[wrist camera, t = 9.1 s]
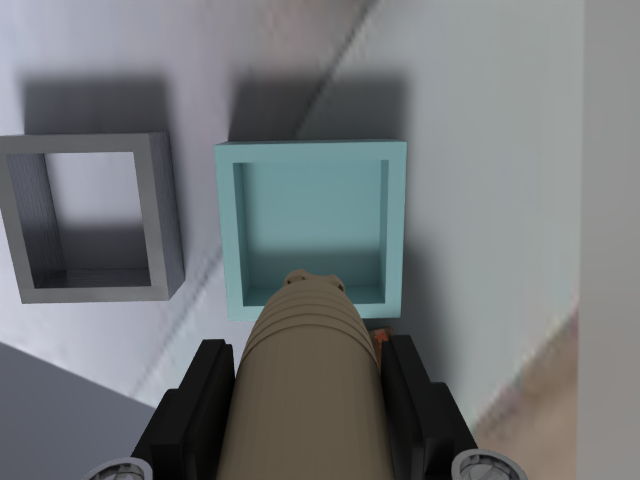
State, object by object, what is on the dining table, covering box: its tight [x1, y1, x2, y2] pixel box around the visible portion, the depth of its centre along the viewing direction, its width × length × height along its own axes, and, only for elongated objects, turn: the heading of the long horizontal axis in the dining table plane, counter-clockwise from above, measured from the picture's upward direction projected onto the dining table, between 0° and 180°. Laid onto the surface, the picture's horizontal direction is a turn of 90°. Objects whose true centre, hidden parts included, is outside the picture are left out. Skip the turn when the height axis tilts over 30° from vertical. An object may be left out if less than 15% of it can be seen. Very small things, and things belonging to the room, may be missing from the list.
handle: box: [216, 269, 396, 480], centre depth 10 cm, size 5×6×15 cm
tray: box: [214, 138, 407, 321], centre depth 28 cm, size 11×11×4 cm
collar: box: [0, 132, 185, 304], centre depth 28 cm, size 10×9×4 cm
